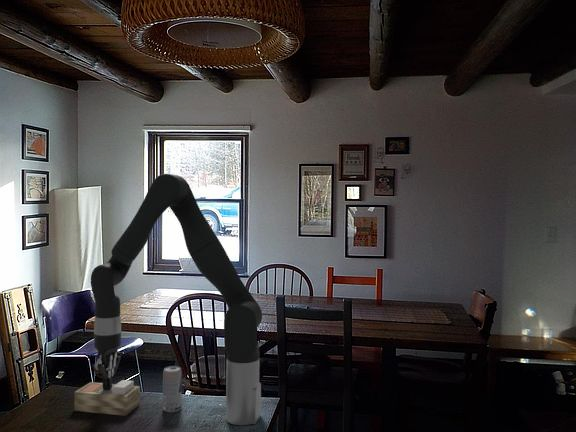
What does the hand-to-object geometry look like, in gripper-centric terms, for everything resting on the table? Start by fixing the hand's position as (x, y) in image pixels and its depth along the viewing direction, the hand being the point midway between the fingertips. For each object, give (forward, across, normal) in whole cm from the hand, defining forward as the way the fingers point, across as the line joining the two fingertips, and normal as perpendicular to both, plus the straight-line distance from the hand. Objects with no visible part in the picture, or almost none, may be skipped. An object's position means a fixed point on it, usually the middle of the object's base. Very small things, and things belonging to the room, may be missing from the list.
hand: (107, 389), depth 149 cm
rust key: (+3, 0, +5) cm, 6 cm away
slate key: (+3, 0, 0) cm, 3 cm away
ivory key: (+1, 0, -5) cm, 5 cm away
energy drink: (+6, +3, -19) cm, 20 cm away
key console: (+6, 0, 0) cm, 6 cm away
